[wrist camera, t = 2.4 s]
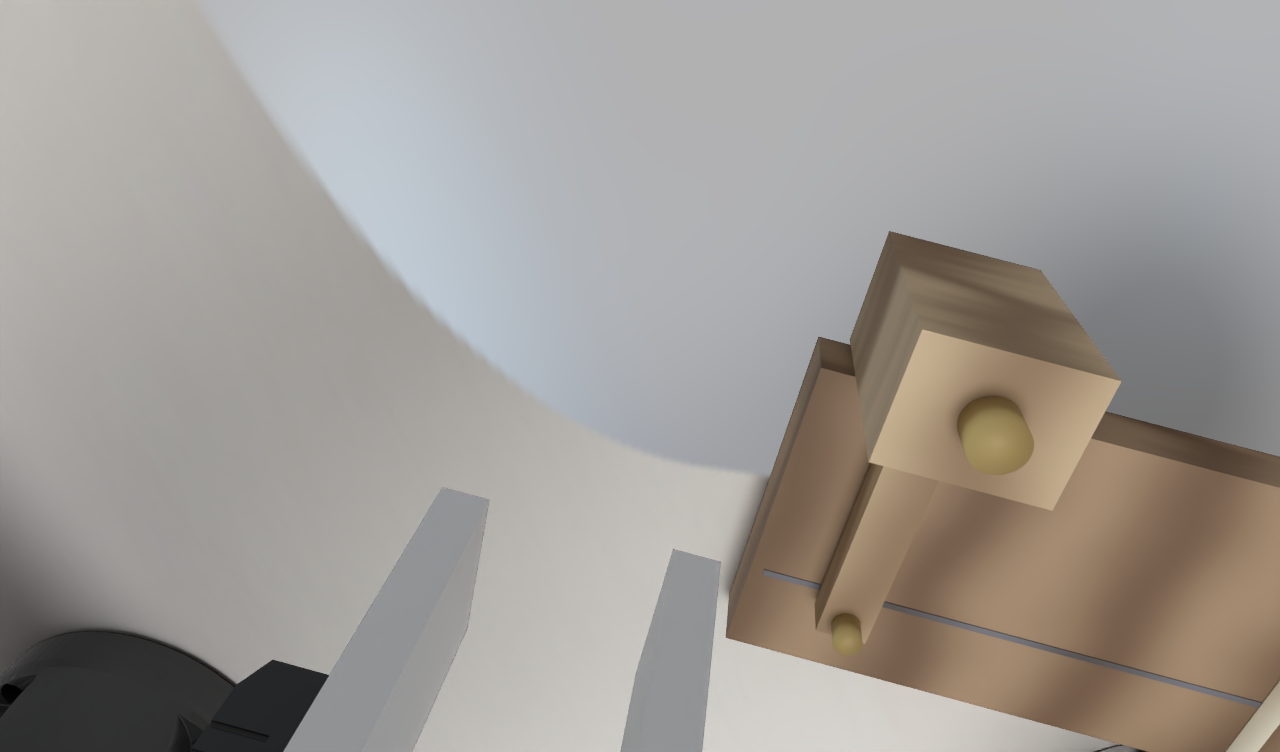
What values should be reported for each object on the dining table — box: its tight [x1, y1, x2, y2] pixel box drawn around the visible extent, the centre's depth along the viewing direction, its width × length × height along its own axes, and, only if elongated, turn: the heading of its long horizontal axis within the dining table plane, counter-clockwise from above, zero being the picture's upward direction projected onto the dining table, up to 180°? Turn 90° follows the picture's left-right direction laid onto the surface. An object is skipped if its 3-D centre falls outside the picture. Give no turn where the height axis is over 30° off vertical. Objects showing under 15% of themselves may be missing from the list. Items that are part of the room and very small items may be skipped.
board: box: [726, 337, 1280, 752], centre depth 33 cm, size 25×12×3 cm, turn 78°
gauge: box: [814, 231, 1121, 656], centre depth 29 cm, size 5×13×9 cm, turn 168°
